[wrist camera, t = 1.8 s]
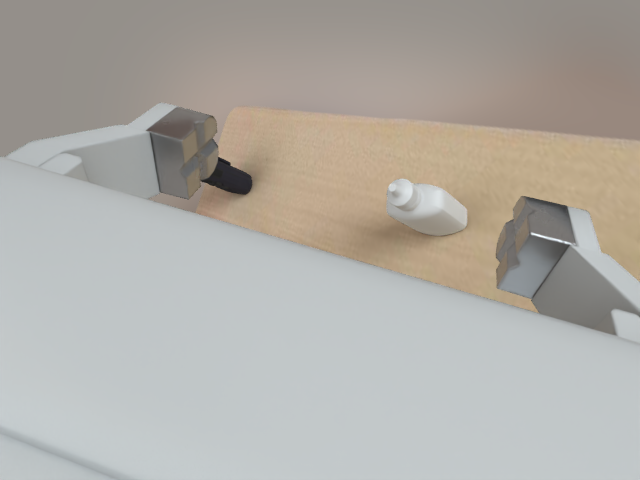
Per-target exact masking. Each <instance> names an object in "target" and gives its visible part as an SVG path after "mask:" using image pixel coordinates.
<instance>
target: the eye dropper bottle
mask: <svg viewBox="0 0 640 480" xmlns="http://www.w3.org/2000/svg"><path fill="white" fill-rule="evenodd" d="M387 213H388V214H389V215H390V216H391V217H392V218H394V219H396V220H398V221H399V222H401V223H403V224H405V225H407V226H409V227H411V228H412V229H414V230H416V231H418V232H421V233H424V234H428V235H434V236H443V235H449V234H453V233H456V232H459V231H461V230H463V229H464V228H465V227H466V225H467V209H466V208H465V207H464V206H463V205H462V204H460V203H459V202H458V201H457V200H456V199H455V198H453V197H452V196H451V195H450V194H449V193H447V192H446V191H445V190H444V189H442V188H439V187H437V186H433V185H429V184H412V183H411V182H410V181H408V180H406V179H397V180H395V181H393V182H392V183H391V184H390V185H389V188H388V190H387Z"/></svg>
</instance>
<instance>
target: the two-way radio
mask: <svg viewBox="0 0 640 480" xmlns="http://www.w3.org/2000/svg"><path fill="white" fill-rule="evenodd" d="M230 165H231V164H230V162H228V161H226V160H224V159H222V158H220V157H218V161H217V165H216V167H215V170H214V172H213V173H212V174H211V176H210V177H209V178H206V179H203V180H200V181H202V182H205V183H208V184H209V185H212V186H216V187H217V188H220V189H222V190H225V191H228V192H232V193H237V194H247V193H248V192H249V191H250V189H251V186H252V180H251V176H250V175H249V174H247V173H245V172H243V171H241V170H239V169H237V168H234V167H232V166H230Z"/></svg>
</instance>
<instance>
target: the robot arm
mask: <svg viewBox="0 0 640 480" xmlns="http://www.w3.org/2000/svg"><path fill="white" fill-rule="evenodd" d="M216 133H217V123H216V120H215V118H214V117H213V116H211V115H207V114H203V113H199V112H196V111H193V110H189V109H185V108H182V107H179V106H175V105H170V104H166V103H159V104H157V105H156V106H154V107H153V108H152V109H150V110H149V111H147V112H146V113H144V114H143V115H141V116H140V117H139V118H137V119H136V120H134V121H133V122H131V123H130V124H129V125H127V126H125V125H116V126H110V127H106V128H100V129H95V130H89V131H84V132H78V133H74V134H68V135H63V136H57V137H52V138H46V139H41V140H36V141H31V142H29V143H27V144H25V145H24V146H22V147H20V148H18V149H17V150H15V151H13V152H12V153H10V154H8V155H7V156H5V157H1V156H0V480H640V282H639V281H638V280H636V279H635V278H634V277H633V276H632V275H631V274H630V273H629V272H627V271H626V270H625V269H624V268H623V267H622V266H621V265H619V264H618V263H617V262H616V261H615V260H614V259H613V258H612V257H610V256H609V255H608V254H604V253H601V249H600V246H599V243H598V240H597V236H596V233H595V230H594V227H593V223H592V220H591V217H590V214H589V212H588V211H586V210H582V209H578V208H573V207H568V206H565V205H560V204H556V203H552V202H547V201H543V200H539V199H534V198H530V197H526V196H521V197H520V199H519V200H518V201H517V203H516V205H515V207H514V208H513V218H514V219H513V220H511V221H509V222H507V223H505V225H504V227H503V229H502V232H501V234H500V237H499V240H498V243H497V248H496V258H497V259H498V261H499V262H500V264H499V266H498V268H497V269H496V276H497V288H498V289H501V290H504V291H507V292H510V293H514V294H517V295H520V296H523V297H526V298H530V299H532V300H531V301H532V303H533V304H534V306H535V307H536V309H537V310H538V312H539V313H540V314H539V313H536V312H533V311H529V310H526V309H522V308H519V307H516V306H512V305H509V304H505V303H502V302H498V301H495V300H491V299H488V298H485V297H481V296H478V295H474V294H471V293H467V292H464V291H461V290H457V289H454V288H450V287H447V286H443V285H440V284H437V283H433V282H430V281H426V280H423V279H419V278H416V277H412V276H409V275H406V274H402V273H399V272H395V271H392V270H388V269H385V268H382V267H378V266H375V265H371V264H368V263H364V262H361V261H358V260H354V259H351V258H347V257H344V256H340V255H337V254H334V253H330V252H327V251H323V250H320V249H316V248H313V247H310V246H306V245H303V244H299V243H296V242H292V241H289V240H285V239H282V238H279V237H275V236H272V235H268V234H265V233H261V232H258V231H255V230H251V229H248V228H244V227H241V226H237V225H234V224H231V223H227V222H224V221H220V220H217V219H213V218H210V217H207V216H203V215H200V214H196V213H193V212H189V211H186V210H182V209H179V208H176V207H172V206H169V205H165V204H162V203H158V202H155V201H151V200H148V199H149V198H151V197H153V196H156V195H158V194H160V192H161V193H165V194H169V195H173V196H177V197H180V198H184V199H190V197H191V196H192V195H193V194H194V193H195V192H196V191H197V190H198V188H200V187H201V183H200V180H203V179H206V178H209V177H210V176H211V174H212V173H213V172H214V170H215V167H216V165H217V161H218V146H217V144H216V143H215V141H214V140H213V137H214V136H215V134H216Z"/></svg>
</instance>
